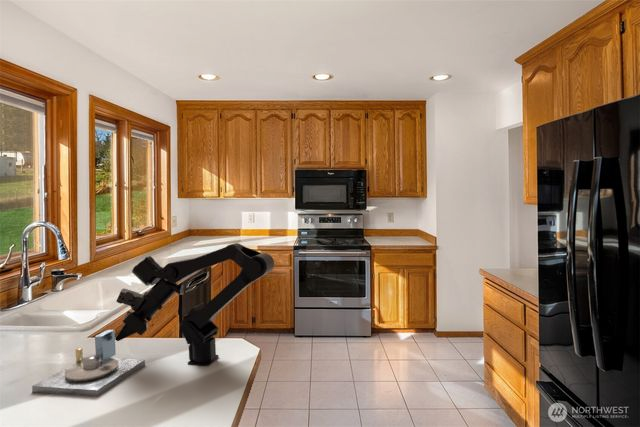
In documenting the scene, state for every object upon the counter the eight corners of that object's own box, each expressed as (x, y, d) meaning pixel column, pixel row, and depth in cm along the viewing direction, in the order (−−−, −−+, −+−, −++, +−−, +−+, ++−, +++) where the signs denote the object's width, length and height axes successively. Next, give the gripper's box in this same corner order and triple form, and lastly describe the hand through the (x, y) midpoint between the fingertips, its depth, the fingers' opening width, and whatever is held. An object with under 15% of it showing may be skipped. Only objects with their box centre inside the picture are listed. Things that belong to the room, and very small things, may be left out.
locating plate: (145, 365, 111) (144, 343, 110) (97, 396, 93) (95, 371, 93) (88, 362, 114) (87, 341, 114) (32, 392, 96) (31, 367, 96)
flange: (98, 381, 97) (97, 349, 97) (53, 380, 98) (51, 348, 98) (132, 358, 111) (131, 329, 111) (92, 357, 113) (91, 329, 112)
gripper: (138, 273, 121) (99, 313, 118) (130, 284, 103) (84, 332, 100) (167, 296, 124) (129, 336, 120) (164, 311, 106) (120, 358, 103)
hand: (116, 339), depth 111 cm, fingers closed
